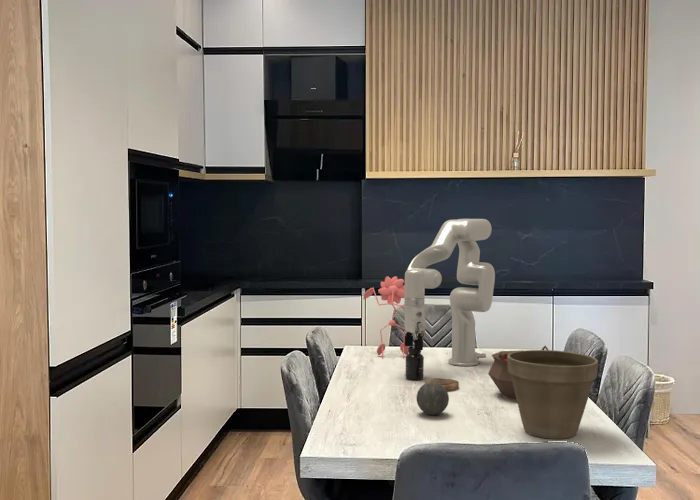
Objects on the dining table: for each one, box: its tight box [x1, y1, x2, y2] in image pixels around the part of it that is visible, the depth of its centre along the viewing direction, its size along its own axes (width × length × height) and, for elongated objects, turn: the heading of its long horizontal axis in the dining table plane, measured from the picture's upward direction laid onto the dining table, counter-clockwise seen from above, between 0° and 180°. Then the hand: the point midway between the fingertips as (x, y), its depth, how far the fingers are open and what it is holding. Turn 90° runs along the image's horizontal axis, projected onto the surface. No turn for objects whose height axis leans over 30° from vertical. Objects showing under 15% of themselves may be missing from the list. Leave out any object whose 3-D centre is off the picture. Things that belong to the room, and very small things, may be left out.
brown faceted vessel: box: [487, 345, 549, 401], centre depth 250 cm, size 24×24×16 cm
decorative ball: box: [416, 382, 450, 416], centre depth 227 cm, size 10×10×10 cm
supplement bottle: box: [404, 345, 425, 381], centre depth 276 cm, size 7×7×12 cm
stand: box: [424, 377, 460, 393], centre depth 262 cm, size 12×12×2 cm
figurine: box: [363, 275, 409, 359], centre depth 321 cm, size 15×26×35 cm, turn 88°
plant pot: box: [507, 349, 599, 440], centre depth 208 cm, size 25×25×22 cm
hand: (413, 348), depth 275 cm, fingers open, 9 cm apart
